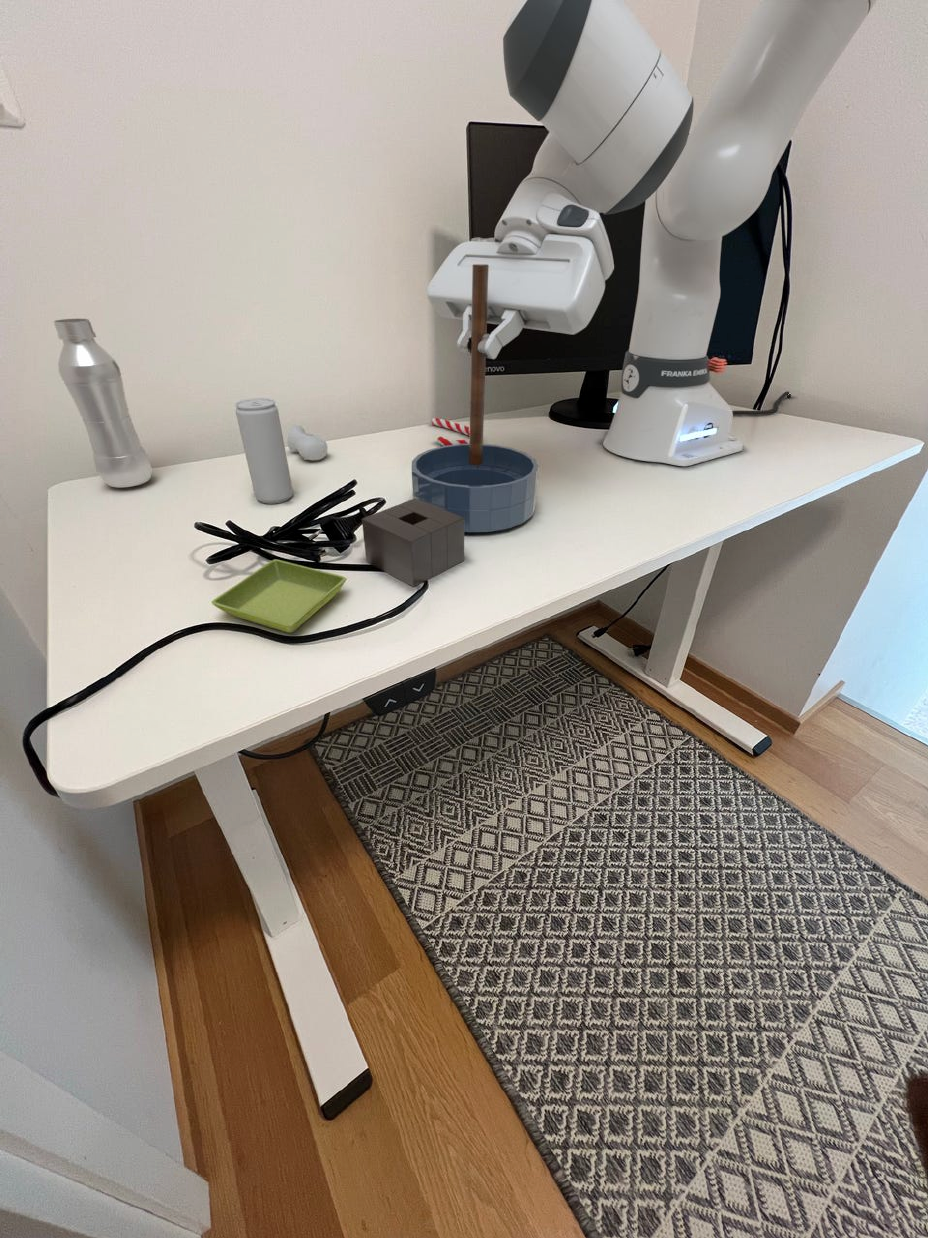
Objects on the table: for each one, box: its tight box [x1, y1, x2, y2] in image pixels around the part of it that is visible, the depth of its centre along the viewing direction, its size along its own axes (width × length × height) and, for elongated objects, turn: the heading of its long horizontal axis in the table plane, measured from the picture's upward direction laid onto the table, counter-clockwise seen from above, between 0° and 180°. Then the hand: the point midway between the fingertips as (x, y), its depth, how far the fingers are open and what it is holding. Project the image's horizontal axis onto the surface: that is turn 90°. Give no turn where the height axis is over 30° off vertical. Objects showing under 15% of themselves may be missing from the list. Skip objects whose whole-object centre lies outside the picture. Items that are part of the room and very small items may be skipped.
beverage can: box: [234, 397, 294, 505], centre depth 68 cm, size 5×5×12 cm
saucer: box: [211, 558, 347, 634], centre depth 50 cm, size 9×9×2 cm
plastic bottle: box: [53, 318, 153, 488], centre depth 69 cm, size 6×7×20 cm
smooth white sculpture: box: [286, 424, 329, 461], centre depth 84 cm, size 4×8×5 cm
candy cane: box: [431, 417, 470, 447], centre depth 94 cm, size 8×1×15 cm
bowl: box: [411, 443, 540, 533], centre depth 67 cm, size 15×15×6 cm
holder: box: [361, 498, 465, 588], centre depth 56 cm, size 7×7×5 cm
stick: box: [468, 264, 489, 465], centre depth 59 cm, size 2×2×20 cm
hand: (474, 352), depth 58 cm, fingers closed on stick, 1 cm apart
